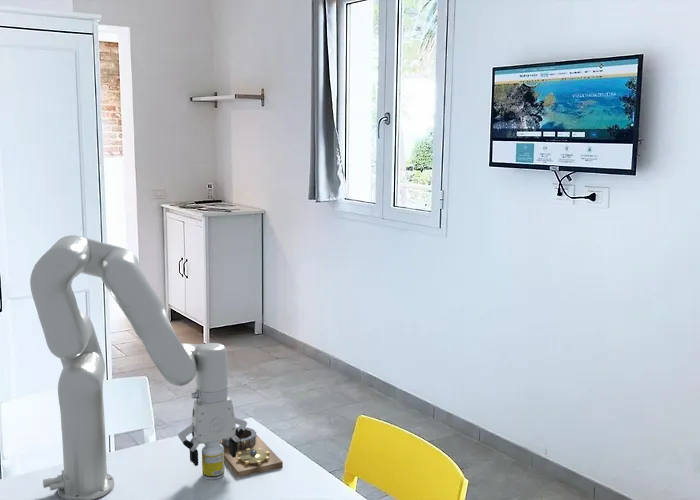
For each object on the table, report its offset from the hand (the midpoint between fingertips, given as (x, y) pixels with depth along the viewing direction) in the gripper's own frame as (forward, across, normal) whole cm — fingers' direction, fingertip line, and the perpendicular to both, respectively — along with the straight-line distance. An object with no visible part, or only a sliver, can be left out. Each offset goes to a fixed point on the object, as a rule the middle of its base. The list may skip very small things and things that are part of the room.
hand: (214, 459), depth 176 cm
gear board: (+4, +11, +7) cm, 14 cm away
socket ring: (+3, +11, +12) cm, 16 cm away
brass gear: (+3, +11, +1) cm, 11 cm away
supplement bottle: (+4, 0, 0) cm, 4 cm away
